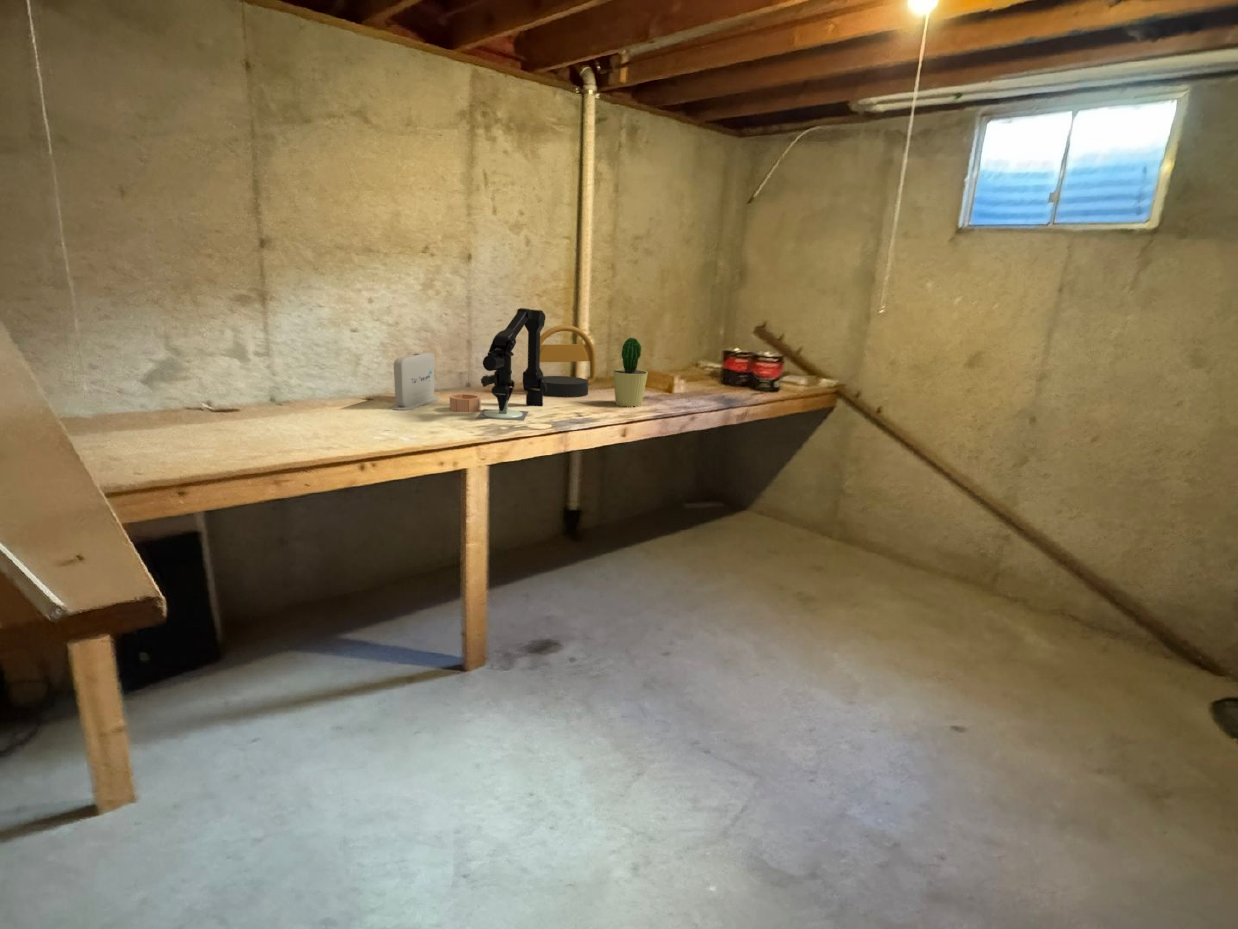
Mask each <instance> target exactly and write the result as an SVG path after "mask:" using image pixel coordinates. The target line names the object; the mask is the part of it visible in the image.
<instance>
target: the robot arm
mask: <svg viewBox="0 0 1238 929" xmlns="http://www.w3.org/2000/svg"><path fill="white" fill-rule="evenodd" d="M545 321H546V313H544V311H543V310H540V309H531V308H527V307H525V308H524V307H520V308H517V310H516V314H515V315H514V317H513V318H512V319H511V321H510V322H509V323H508V325H507V326H506V328H505V329H503V330H500V331H498V333H497V334H495V335H494V338H493V339H492V342H491V345H490V346H489V350H488V352H487V356H485V357H484V358H483V360H482V365H483V368H484V369H485V370H486V371H488V372H493V371H494V373H493V374H491V375H488V374H486V375H483V376H482V377H481V378H480V381H481V382H480V384H481V385H482V387H483V388H485V387H487V386H490V385H493V384H494V386H492V387H491V394H492V395H493V396H494V397H495V398H496V399H497V404H498V409H499V408H500V411H503V409H504V407H505V404H506V401H507V400H508V402H509V400H510V398H511V396H512V393H513V391H514V389H515V381H514V379H512V373H513V370H512V357H513V356H515V353H514V352H512V350H514V348H515V345H516V344H517V339H516V338H517V336H518V334H520V332H522V329H523V327H525V328H526V330H527V367H526V369H525V371H523V372H522V386H523V391H524V392H525V391H526V392H527V393H526V395H525V404H526V406H528V407H543V406H544V395H543V393H545V392H547V385H546V383H545V381H544V378H543V376H544V373H543V372H544V371H542V369H541V367H540V365H541V364H540V363H541V362H540V336H541V332H542V330H543V328H544V326H545V324H546V323H545Z"/></svg>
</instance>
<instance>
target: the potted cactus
mask: <svg viewBox="0 0 1238 929" xmlns="http://www.w3.org/2000/svg"><path fill="white" fill-rule="evenodd" d="M642 347H644V346H643V345H642V346H641V343H640V341H639V340H638V338H636V337H632V336H631V337H627V339H626V340H625V341H623V343H622V347H620V349H621V351H620V352H621V354H620V359H622V367H623V368H619V369H618V368H617V369H613V370H612V375H613V378H612V379H613V386H614V400H615V405H616V406H618V405H621V406H620V407H622V406H639V405H641V406H642V402H643V399H644V394H645V389H646V383H647V379H648V373H649V372H648V371H646V370H640V369H638V366H639V365H640V364H639V359H640V358H641V356H642ZM639 407H640V406H639Z"/></svg>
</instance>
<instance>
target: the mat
mask: <svg viewBox="0 0 1238 929" xmlns="http://www.w3.org/2000/svg"><path fill="white" fill-rule="evenodd" d="M488 410H494V409H493V408H492V409H491V408H490V409H489V408H483V409H482V410H481V412H480V413H479V414H478V415H477V416H476V417H475V419H476V420H477V419H479V420H480V419H483V420H497V421H498V420H500V421H501V420H502V421H521V422H524V421H525V419H526V417H527V416H528V414H529V413H530V412H529V411H528V410H518V411H519V412H522V413H523V415H522V416H521V417H519V418H512V419H498V418H490V417H486V416H484V412H485V411H488Z"/></svg>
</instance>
